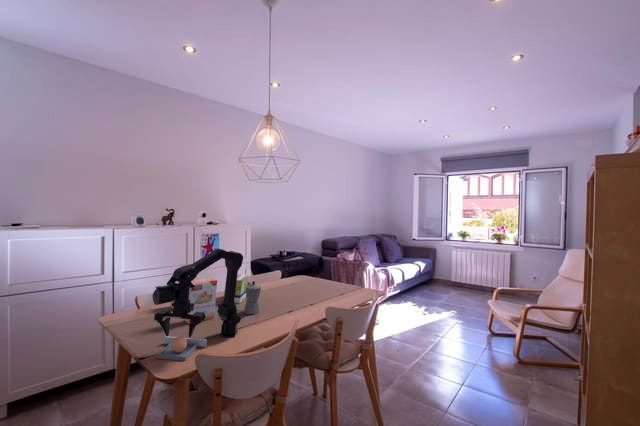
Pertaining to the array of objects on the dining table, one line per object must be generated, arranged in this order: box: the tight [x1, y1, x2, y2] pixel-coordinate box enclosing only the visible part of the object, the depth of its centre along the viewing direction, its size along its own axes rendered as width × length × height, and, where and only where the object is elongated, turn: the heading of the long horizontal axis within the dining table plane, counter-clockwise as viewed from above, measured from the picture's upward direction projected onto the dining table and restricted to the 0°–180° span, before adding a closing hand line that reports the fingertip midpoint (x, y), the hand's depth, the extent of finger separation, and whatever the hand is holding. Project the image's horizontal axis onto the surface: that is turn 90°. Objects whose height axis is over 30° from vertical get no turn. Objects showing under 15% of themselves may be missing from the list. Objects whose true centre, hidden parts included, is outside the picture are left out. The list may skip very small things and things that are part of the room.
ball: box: [171, 336, 187, 353], centre depth 122 cm, size 6×6×6 cm
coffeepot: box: [243, 281, 262, 315], centre depth 173 cm, size 15×9×18 cm, turn 33°
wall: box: [164, 335, 208, 348], centre depth 128 cm, size 18×1×3 cm, turn 90°
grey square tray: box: [157, 342, 198, 361], centre depth 122 cm, size 11×11×2 cm
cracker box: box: [183, 277, 218, 325], centre depth 155 cm, size 14×6×21 cm, turn 138°
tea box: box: [234, 273, 249, 304], centre depth 191 cm, size 15×10×15 cm
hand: (178, 336), depth 121 cm, fingers open, 9 cm apart
